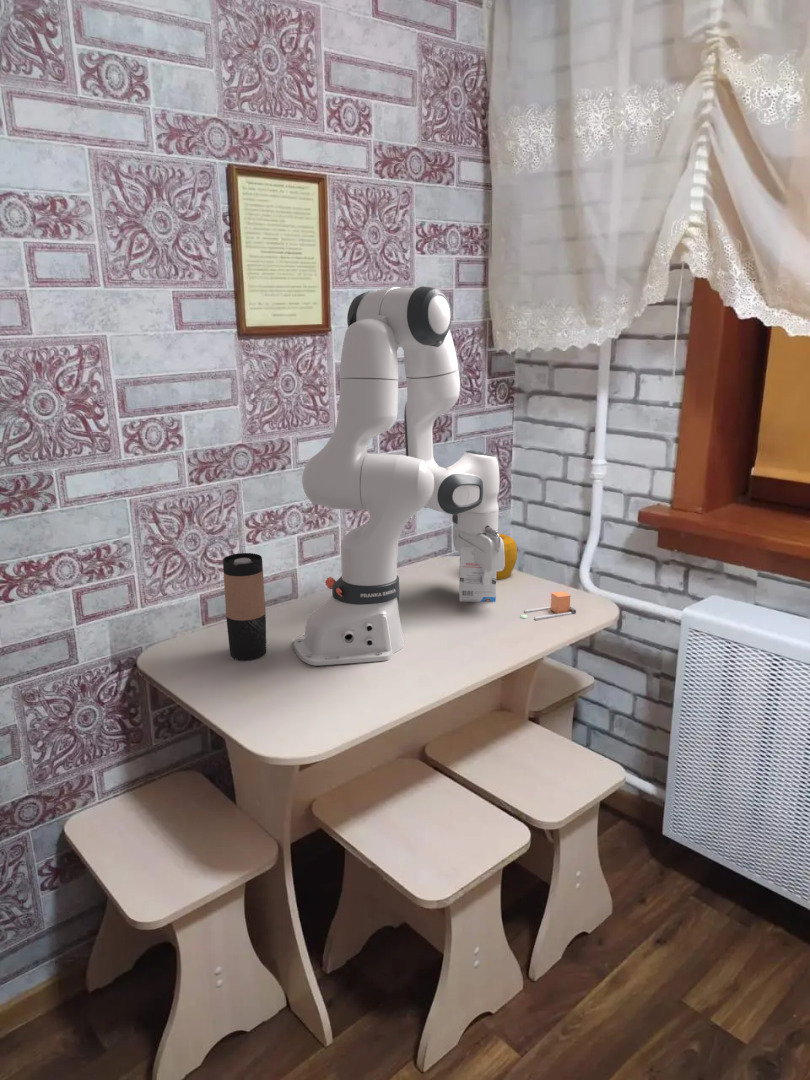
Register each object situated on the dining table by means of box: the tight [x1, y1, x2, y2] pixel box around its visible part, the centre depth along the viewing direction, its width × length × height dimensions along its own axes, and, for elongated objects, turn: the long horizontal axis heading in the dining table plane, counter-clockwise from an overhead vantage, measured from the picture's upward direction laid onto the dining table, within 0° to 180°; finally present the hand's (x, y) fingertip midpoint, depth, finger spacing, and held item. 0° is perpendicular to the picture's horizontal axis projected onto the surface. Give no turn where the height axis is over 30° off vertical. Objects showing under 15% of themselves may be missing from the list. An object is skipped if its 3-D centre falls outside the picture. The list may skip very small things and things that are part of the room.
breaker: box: [550, 590, 571, 614], centre depth 175 cm, size 3×3×4 cm
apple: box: [496, 532, 518, 581], centre depth 199 cm, size 11×11×13 cm
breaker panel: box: [519, 605, 577, 621], centre depth 178 cm, size 12×15×3 cm
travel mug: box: [222, 552, 267, 662], centre depth 155 cm, size 8×8×20 cm
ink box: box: [458, 547, 497, 603], centre depth 183 cm, size 8×5×15 cm, turn 85°
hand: (477, 579), depth 183 cm, fingers closed on ink box, 6 cm apart
